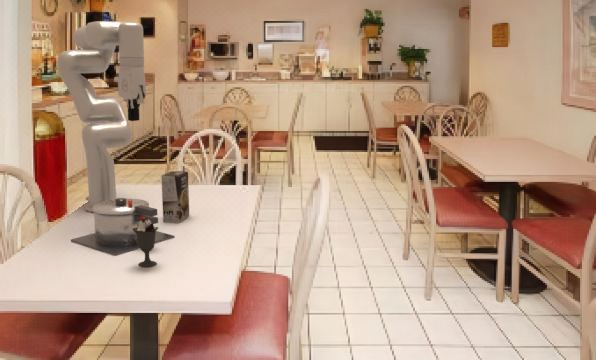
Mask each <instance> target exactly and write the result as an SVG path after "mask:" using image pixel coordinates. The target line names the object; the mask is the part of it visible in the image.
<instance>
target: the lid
mask: <svg viewBox="0 0 596 360" xmlns="http://www.w3.org/2000/svg"><path fill="white" fill-rule="evenodd" d="M138 210H140V212H141V213H142V214H143V215H147V216H151V217H152V216H154V217H156V216H158V208H155V207H150V204H149V202H148V201H147V200H144V199H141V198H125V197H121V198H120V197H118V198H116V199H115V200H108V201H103V202H100V203H97V204H95V205H94V206H93V212H92V213H94V212H95V213H97V214H102V215H127V214H134V213H139V214H141V213H140V212H139V211H138Z"/></svg>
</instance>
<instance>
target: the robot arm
mask: <svg viewBox="0 0 596 360" xmlns="http://www.w3.org/2000/svg"><path fill="white" fill-rule="evenodd" d="M72 41H73V43H74V44H75V46H76V47H77V48H78V49H68V50H65V51H62V52H61V53H60V54H59V55H58V57H57V61H56V62H57V69H58V74H59V77H60V79H61V80H62V82H63V84H64V85H65V87H66V88H67V90H68V92H69V94H70V96H71V99H72V101H73V104H74V107H75V109H76V112H77V115H78V118H79V119H80V121H81V122H83V123H85V124H86V125H84V126H83V128H82V130H81V139H82V144H83V147H84V152H85V161H86V173H87V174H86V175H87V186H88V195H87V196H86V197H85V200H86V201H88V204H86V205H85V207H84V209H85V211H86V212H89V213H94V212H93V206H94V205H95V204H97V203H100V202H103V201H108V200H115V199H117V188H116V184H117V183H116V173H115V172H116V171H115V170H116V169H115V161H114V157H113V156H112V155H111V154H110V152H109V151H108V149H111V148H112V149H114V148H121V147H123V148H124V147H126V146H129V145H130V144H131V142H132V140H133V132H132V129H131V126H130V122H137V121H139V122H140V108H141V104H144V102H145V101H144V100H145V99H146V97H147V83H146V75H145V51H144V50H145V49H144V46H145V44H144V27H143V25H142V23H140V22H139V23H138V22H131V21H130V22H129V21H111V20H99V21H97V20H96V21H90V22H88V23H86V25H84V26H80V27H78V28H77V29H75V31H74V33H73V35H72ZM116 46H117V47H118V52H119V53H118V54H119V55H118V56H119V69H118V77H117V81H118V82H117V89H118V90H117V94H118V97H119V98H121V99H122V100H123V101H124V102H125V103H126V108H127V114H126V112H125V110H124V107H123V105H122V103H121V101H120V100H119V99H118V98H117V97H116V96H112V95H104V96H101V95H97V92H96V90H95V86H94V85H93V84H92V82H90V81H89V79H88V78H86V77H84V76H83V75H82V74H102V73H104V72H106V71H107V69H109V67H110V64H111V61H112V58H113V56H114V53H115V50H116ZM129 121H130V122H129Z"/></svg>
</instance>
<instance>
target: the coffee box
mask: <svg viewBox="0 0 596 360" xmlns="http://www.w3.org/2000/svg"><path fill="white" fill-rule="evenodd" d="M189 190H190V189H189V172H188V171H179V170H177V171H176V170H175V171H174V170H173V171H169V172H167V173H165V174H162V175H161V197H162V198H161V201H162V221H163V222H164V223H165V222H166V223H175V224H176V223H177V224H180V223H182V222H183V221H185V220H186V219H188V218H190V195H189Z"/></svg>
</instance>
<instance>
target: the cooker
mask: <svg viewBox="0 0 596 360" xmlns="http://www.w3.org/2000/svg"><path fill="white" fill-rule="evenodd" d="M142 215H143V214H139V213H134V214H127V215H102V214H97V213H95V212H93V220H94V233H89V234H86V235H82V236H77V237H73V238H71V239H70V242H72V243H74V244H78V245H81V246H83V247H84V246H85V247H87V248H89V249H90V248H91V249H93V250H96V251H99V252H103V253H105V254H108V255H111V256H119V255H122V254H126V253H129V252H131V251H132V252H133V251H136V250H138V249H139V250H140V248H139V245H138V241H137V236H136V233H135V232H134V231H133V228H136V227H137V224H138V223H139V222H140V218H141V217H142ZM143 217H145V218H146V219H149V220H150V221H151V223H153V225H156V224H159V217H158V216H157V217H156V216H152V217H151V216H147V215H143ZM172 239H175V235H173V234H170V233H165V232H161V231H158V230H156V235H155V244H158V243H161V242H165V241H168V240H172Z"/></svg>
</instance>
